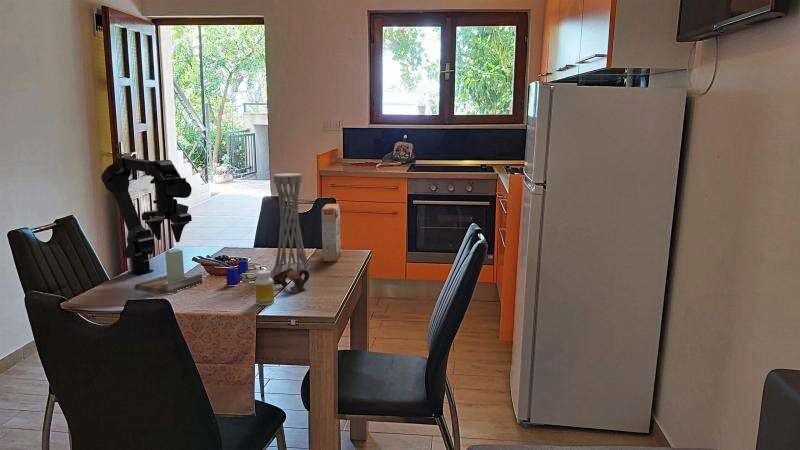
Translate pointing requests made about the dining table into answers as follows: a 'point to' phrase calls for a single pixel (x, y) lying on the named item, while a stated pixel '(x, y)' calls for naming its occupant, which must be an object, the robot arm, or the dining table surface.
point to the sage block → (174, 265)
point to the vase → (289, 224)
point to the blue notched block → (236, 273)
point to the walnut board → (169, 284)
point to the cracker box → (331, 232)
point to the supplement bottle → (264, 288)
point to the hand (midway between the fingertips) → (168, 241)
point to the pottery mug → (292, 276)
